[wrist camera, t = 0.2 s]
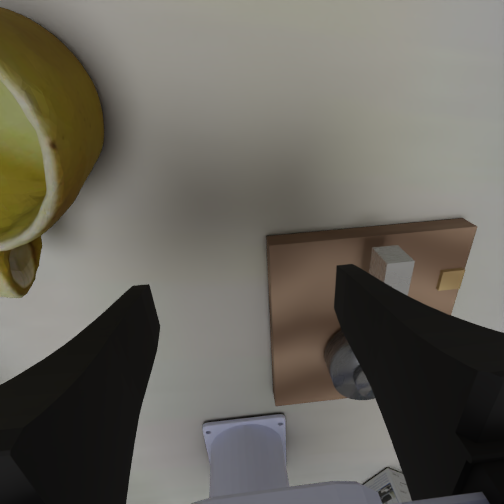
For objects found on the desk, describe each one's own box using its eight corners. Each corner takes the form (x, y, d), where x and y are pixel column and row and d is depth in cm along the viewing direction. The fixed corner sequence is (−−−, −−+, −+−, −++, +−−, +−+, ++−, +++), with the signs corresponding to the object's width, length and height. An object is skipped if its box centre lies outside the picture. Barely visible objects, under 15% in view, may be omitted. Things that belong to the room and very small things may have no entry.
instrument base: (420, 375, 30) (440, 406, 27) (273, 391, 30) (278, 425, 27) (462, 218, 23) (497, 238, 20) (266, 236, 22) (273, 259, 19)
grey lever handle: (392, 372, 27) (412, 406, 24) (322, 380, 27) (334, 415, 24) (421, 233, 21) (452, 257, 18) (331, 242, 21) (348, 267, 18)
